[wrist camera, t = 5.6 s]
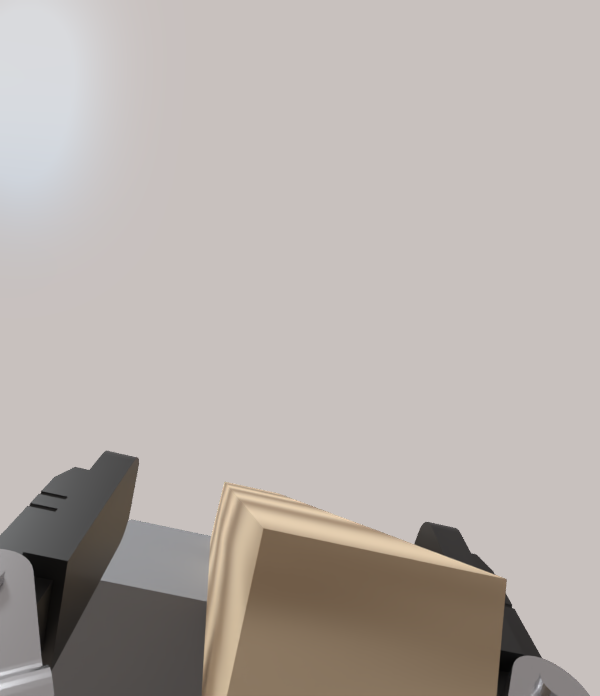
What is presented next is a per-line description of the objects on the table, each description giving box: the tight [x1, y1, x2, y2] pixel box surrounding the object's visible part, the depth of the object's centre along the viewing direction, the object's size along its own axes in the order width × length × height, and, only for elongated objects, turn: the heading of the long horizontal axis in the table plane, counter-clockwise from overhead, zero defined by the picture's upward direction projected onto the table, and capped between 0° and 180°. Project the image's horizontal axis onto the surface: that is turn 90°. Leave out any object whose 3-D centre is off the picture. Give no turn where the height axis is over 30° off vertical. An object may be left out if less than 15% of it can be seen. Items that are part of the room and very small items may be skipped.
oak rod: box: [202, 482, 507, 696], centre depth 16 cm, size 22×3×3 cm, turn 10°
